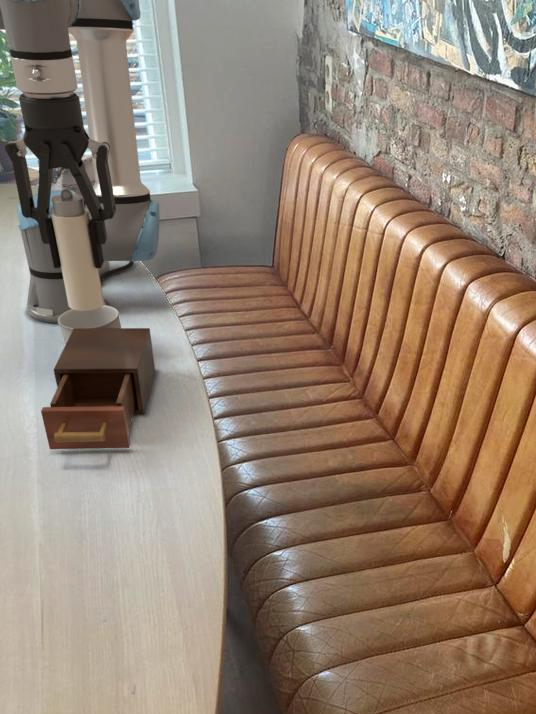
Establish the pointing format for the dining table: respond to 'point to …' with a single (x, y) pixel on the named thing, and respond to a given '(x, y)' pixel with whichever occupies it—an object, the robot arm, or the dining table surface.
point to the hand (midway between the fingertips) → (79, 264)
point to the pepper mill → (76, 252)
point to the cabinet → (111, 356)
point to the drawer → (91, 411)
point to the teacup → (88, 320)
